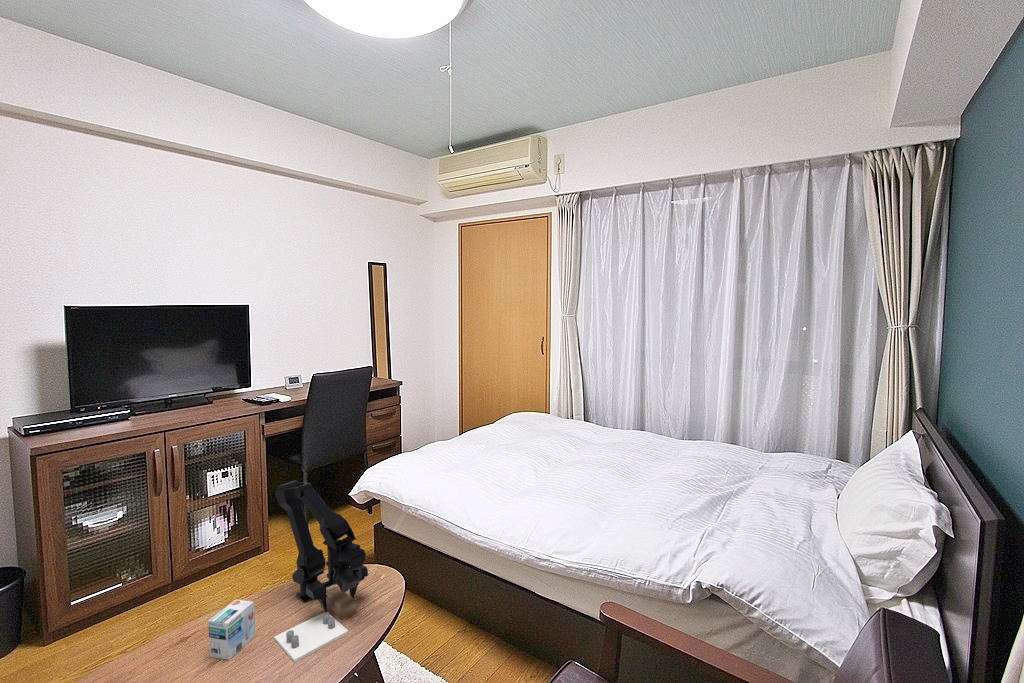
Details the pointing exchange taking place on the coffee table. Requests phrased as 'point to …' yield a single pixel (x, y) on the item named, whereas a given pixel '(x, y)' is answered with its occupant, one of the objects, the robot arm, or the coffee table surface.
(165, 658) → the coffee table surface
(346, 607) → the walnut board
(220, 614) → the light bulb box
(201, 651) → the coffee table surface
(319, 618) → the peg stand
